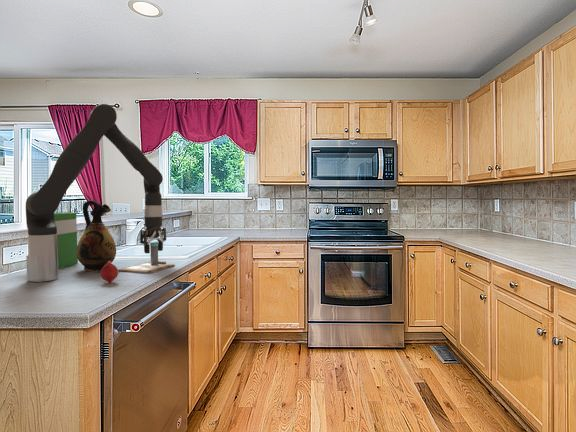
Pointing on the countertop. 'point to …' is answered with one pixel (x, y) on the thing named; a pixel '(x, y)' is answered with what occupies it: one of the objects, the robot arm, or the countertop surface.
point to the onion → (109, 272)
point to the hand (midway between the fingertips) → (153, 251)
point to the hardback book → (66, 239)
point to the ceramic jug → (95, 239)
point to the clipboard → (147, 267)
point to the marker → (154, 253)
